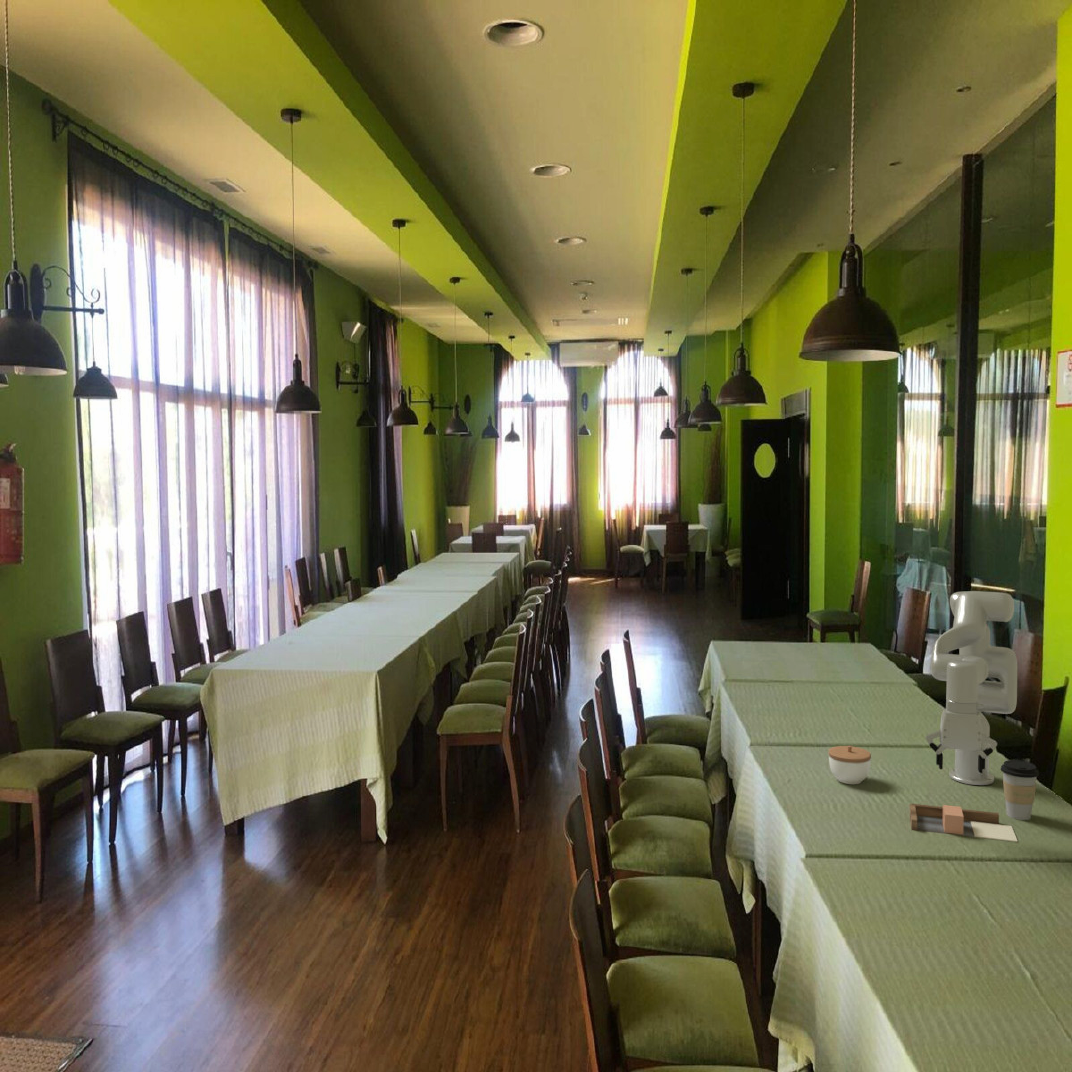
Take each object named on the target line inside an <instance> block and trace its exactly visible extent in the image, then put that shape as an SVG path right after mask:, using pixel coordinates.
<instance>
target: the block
mask: <svg viewBox="0 0 1072 1072" xmlns="http://www.w3.org/2000/svg"><path fill="white" fill-rule="evenodd" d="M942 807H943V827H944V832H945V833H952V834H951V835H953V834H960V835H959V836H961V835H963V822H964V816H963V813H962V809H963V808H962V807H961V806H956V805H955V806H954V805H946V804H942ZM945 833H944V834H945Z"/></svg>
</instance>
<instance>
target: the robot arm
mask: <svg viewBox="0 0 1072 1072" xmlns="http://www.w3.org/2000/svg"><path fill="white" fill-rule="evenodd" d="M949 606H950V609H951V613H952V615H953V617H954V618H953V624H952V627H951V628H950V629H948V630H946V631H945V632H943V634H941V635H940V636H939V637H938V638H937V639H936V641H935V642H934V643H933V648H932V652H931V658H930V673H931V675H932V677H933V678H934V679H935V680H937V681H942V682H943V681H944V682H946V689H945V690H946V691H945V693H946V694H945V695H946V698H945V700H946V701H945V708H943V709H942V712H941V715H940V716H941V717H940V726H939V730H937V731H934V732H931V733H929V734H926V735H925V740H926V742H927V743H928V745H929V747H930V749H932V751H934V752H935V753H936V754H935V755H936V757H935V763H936V766H938V768H939V770H943V768H944V766H943V764H944V760H943V759H944V756H943V753H944V751H945V750H947V749H950V750H955V751H954V768H953V769H950V770H949V771H948V772H949V778H951V779H952V780H953V781H955V782H958V783H962V784H966V785H972V786H988V785H991V784H993V783H994V782H995V777H994V775H993V774H992V773H989V772H990V771H989V767H990V765H989V764H990V755H991V754H992V753H994V750H995V749H996V747H997V746H998V742H997V741H996V740H995V739H993V738H991V737H990V731H991V730H990V729H991V727H990V723H989V722H988V720H987V718H986V717H985V715H984V714H983V713H993V714H1003V715H1004V714H1005V715H1008V714H1009V715H1010V714H1013V712H1015V711H1016V707H1017V704H1018V702H1017V700H1018V659H1017V655H1016V652H1015V651H1014V650H1013V649H1012V648H1009V647H1006V646H1005V647H1004V646H995V645H994V646H993V645H991V629H990V627H989V626H988V624H987V621H989V622H991V621H992V622H1005V623H1008V622H1010V621H1011V620H1012V618H1013V616H1014V614H1015V601H1014V599H1013V597H1012V595H1011V594H1010V593H1007V592H997V591H982V590H981V591H979V590H970V591H969V590H968V591H956V592H953V593H952V594H951V595H950V597H949ZM957 649H958V650H959V654H953V653H950V652H952V651H955V650H957ZM988 678H996V679H998V680H999V681H992V680H986V679H988ZM937 738H939V742H940V743H939V744H938V745H936V743H934V741H933V740H934V739H937Z"/></svg>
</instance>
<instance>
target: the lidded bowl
mask: <svg viewBox="0 0 1072 1072" xmlns="http://www.w3.org/2000/svg"><path fill="white" fill-rule="evenodd" d="M827 751H828V764H829V767H830V768H829V769H830V771H831V772H832V775H833V776H834V777H835V778H836V780H837V781H838V782H840V783H842V784H845V785H859V784H862V781H863V780H865V779H866V778H867V777H868V776H869V773H870V769H871V759H872V753H871V752H870V751H868V750H867V749H865V748H863V747H857V746H852V745H837V746H833V747H831V748H829V749H828V750H827Z"/></svg>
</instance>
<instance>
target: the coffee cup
mask: <svg viewBox="0 0 1072 1072" xmlns="http://www.w3.org/2000/svg"><path fill="white" fill-rule="evenodd" d="M1000 771H1001V772H1002V774H1003V775H1002V781H1003V783H1002V784H1003V794H1004V796H1003V797H1004V799H1005V811H1006V812H1005V813H1006V815H1007V816H1008V817H1009V818H1011V819H1012V820H1013V819H1014V820H1019V821H1027V820H1028V821H1029V820H1031V816H1032V811H1033V804H1034V801H1035V794H1036V789H1037V788H1036V787H1037V777H1039V775H1040V772H1039V770H1038V769H1037V766H1036V765H1035V764H1034V763H1032V762H1029V761H1025V760H1024V761H1023V760H1018V759H1011V760H1010V759H1009V760H1008V759H1007V760H1005V761H1003V763H1002V764H1001V767H1000Z"/></svg>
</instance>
